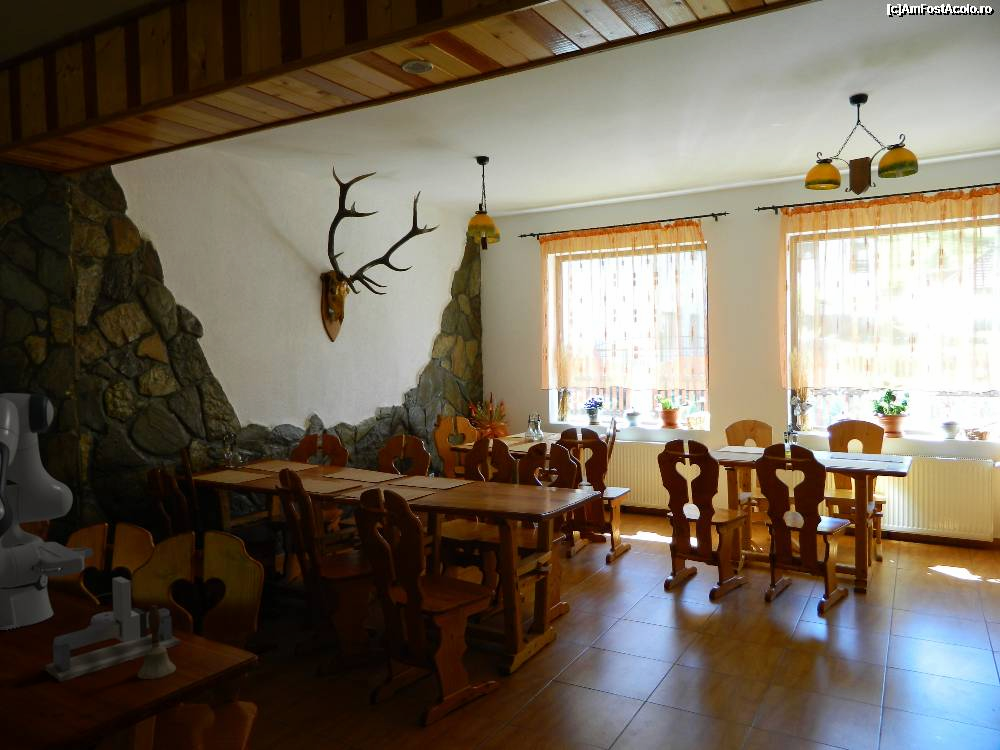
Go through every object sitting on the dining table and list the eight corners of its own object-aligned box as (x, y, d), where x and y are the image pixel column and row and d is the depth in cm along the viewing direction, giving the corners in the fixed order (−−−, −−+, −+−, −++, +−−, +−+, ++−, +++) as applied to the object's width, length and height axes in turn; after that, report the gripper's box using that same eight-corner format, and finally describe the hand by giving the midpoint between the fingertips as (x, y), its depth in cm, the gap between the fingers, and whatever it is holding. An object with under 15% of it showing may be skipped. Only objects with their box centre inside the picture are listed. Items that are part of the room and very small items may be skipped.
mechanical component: (112, 638, 194) (134, 624, 204) (111, 622, 194) (134, 609, 204) (77, 637, 195) (101, 624, 205) (77, 621, 195) (101, 608, 205)
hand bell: (146, 683, 167) (144, 614, 166) (131, 673, 172) (129, 606, 172) (182, 670, 173) (180, 604, 172) (166, 661, 178) (164, 597, 178)
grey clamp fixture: (61, 672, 170) (60, 641, 170) (53, 666, 173) (52, 635, 173) (171, 638, 190) (171, 610, 189) (163, 634, 193) (162, 606, 193)
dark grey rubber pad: (140, 638, 183) (139, 614, 183) (130, 632, 187) (129, 609, 187) (146, 636, 184) (146, 612, 184) (136, 630, 188) (136, 607, 188)
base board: (60, 681, 168) (60, 676, 168) (45, 670, 174) (45, 665, 174) (180, 644, 189) (180, 640, 189) (163, 635, 195) (163, 630, 195)
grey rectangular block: (123, 642, 180) (122, 583, 180) (114, 637, 184) (112, 578, 184) (140, 638, 183) (138, 579, 183) (130, 632, 187) (128, 574, 187)
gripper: (40, 559, 160) (107, 546, 170) (11, 543, 173) (75, 531, 183) (41, 588, 160) (108, 572, 170) (12, 569, 173) (76, 556, 184)
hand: (90, 551), depth 177 cm, fingers closed
